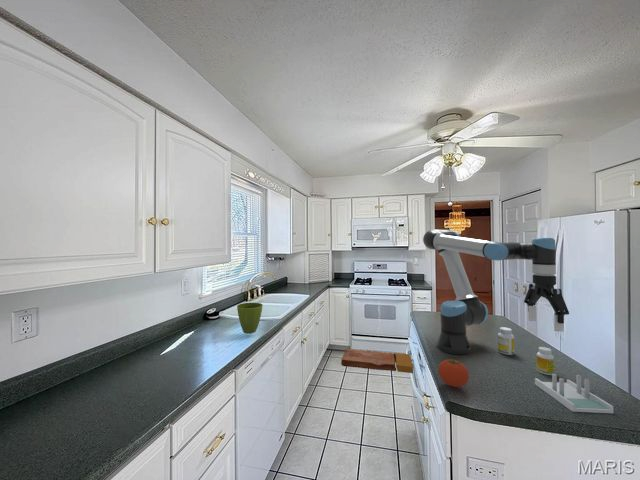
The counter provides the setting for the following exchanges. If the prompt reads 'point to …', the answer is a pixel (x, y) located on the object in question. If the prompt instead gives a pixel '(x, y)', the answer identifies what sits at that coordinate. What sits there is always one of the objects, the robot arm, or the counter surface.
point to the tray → (574, 395)
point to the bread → (377, 360)
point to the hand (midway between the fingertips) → (544, 325)
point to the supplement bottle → (545, 361)
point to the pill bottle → (506, 341)
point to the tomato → (453, 373)
